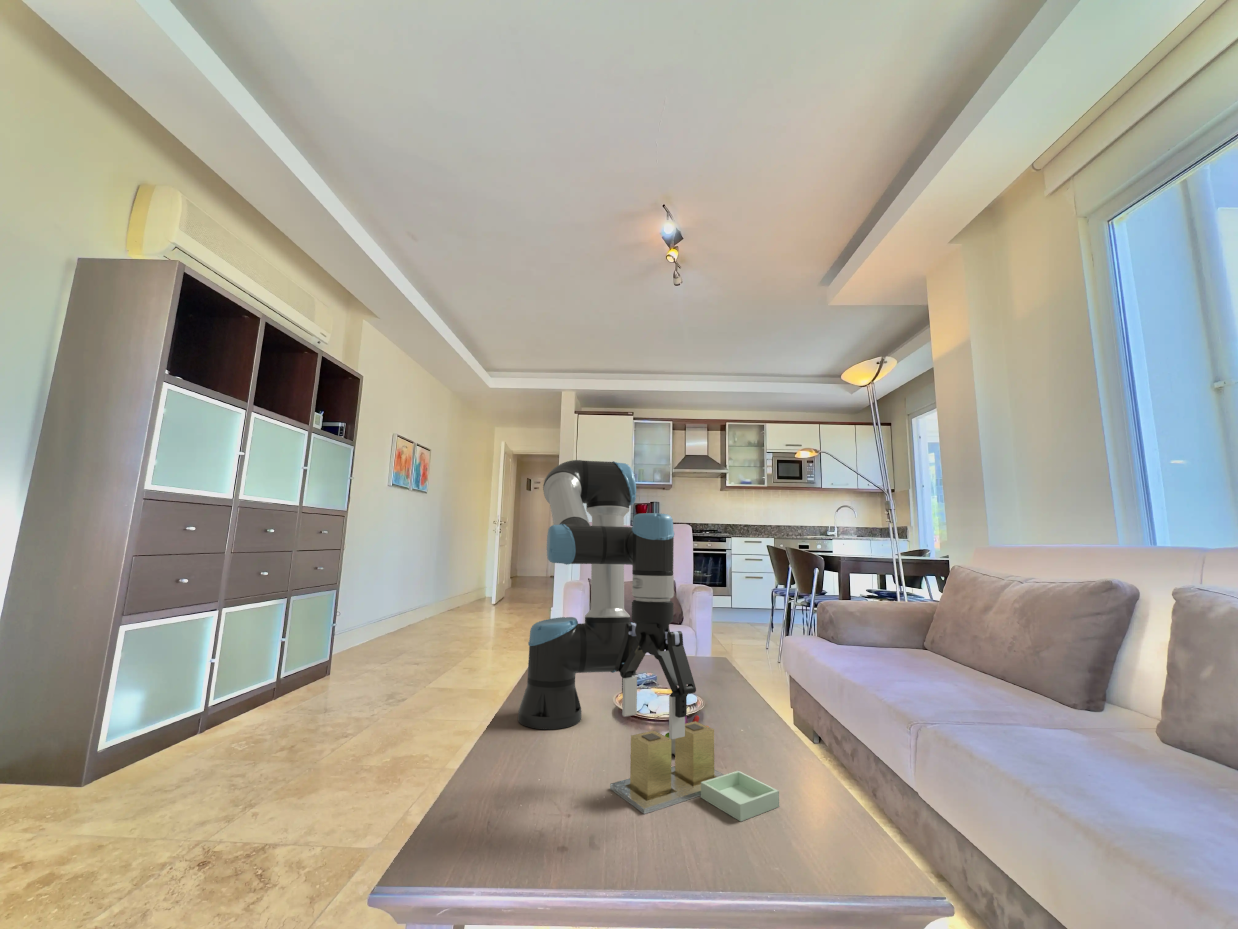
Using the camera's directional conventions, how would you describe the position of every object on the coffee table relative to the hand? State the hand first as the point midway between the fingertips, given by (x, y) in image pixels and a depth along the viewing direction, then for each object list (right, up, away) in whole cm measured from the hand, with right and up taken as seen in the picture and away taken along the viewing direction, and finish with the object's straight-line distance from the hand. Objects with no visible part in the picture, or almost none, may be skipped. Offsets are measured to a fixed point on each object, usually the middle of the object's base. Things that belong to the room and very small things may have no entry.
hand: (651, 725), depth 89 cm
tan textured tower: (+8, -12, +4) cm, 15 cm away
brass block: (0, -11, -1) cm, 11 cm away
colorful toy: (+9, -14, +18) cm, 24 cm away
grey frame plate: (+4, -11, +1) cm, 12 cm away
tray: (+14, -11, -4) cm, 18 cm away
